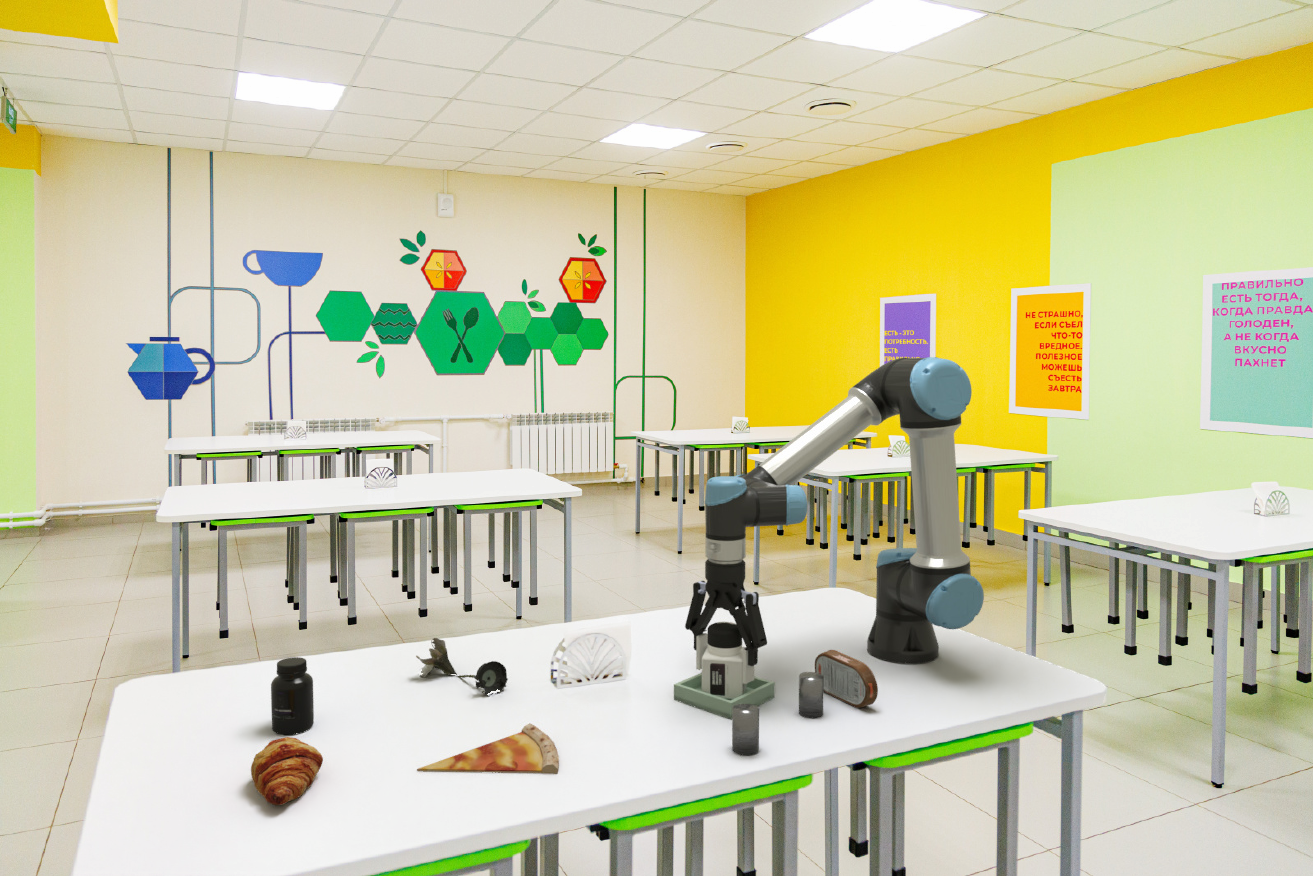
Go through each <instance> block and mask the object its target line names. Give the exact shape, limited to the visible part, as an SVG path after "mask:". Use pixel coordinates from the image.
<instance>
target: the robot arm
mask: <svg viewBox="0 0 1313 876" xmlns="http://www.w3.org/2000/svg"><path fill="white" fill-rule="evenodd" d="M971 399H972V384H971V381H970V377H969V376H968V374H967V372H966V371H965V369H964V368H963V367H961V366H960V365H959V364H958V363H956V362H955V361H953V360H950V359H947V358H940V357H936V356H935V357H934V356H933V357H932V356H929V357H899V358H895V359H892V360H890V361H888V362H886V363H884V364H883V365H882V364H881V366H879V367H877V368H876V369H874V370H873V371H872V372H870V373H869V374H867V376H865V377H864V378H862V379H861V380H860V381H859V382H857V383H856V384H855V385H853V386H852V387H851V388H849V390H848V391H847V397H846V398H844V399H843V400H842V401H841V402H838V404H837V405H835V406H834V407H833V408H831V409H830V410H829V411H828V412H826V413H824V415H822V416H821V417H819V418H818V419H817V420H815V422H812V424H810V425H809V426H808V427H807V428H805V429H804V430H803V431H801V432H800V433H798V434H797V435H796V436H795V437H793V438H792V439H791V440H790V441H789V442H787V443H785V444H784V445H783V446H782V447H781V448H779V449H778V450H776V451H775V452H773V454H771V455H770V456H769V457H768V458H766V459H765V460H764V461H762V462H761V463H760V464H759V465H757V466H756V467H755V468H753V469H751V470H750V471H749V472H748V473H746V474H745V473H743V474H738V475H734V476H733V475H732V476H727V475H721V476H714V477H711V478H709V479H708V480H707V481H706V485H705V486H706V487H705V497H704V506H705V508H704V509H705V511H704V513H705V516H704V518H705V520H704V521H705V549H704V550H705V553H704V555H705V557H706V558H707V559H706V560H705V562H704V564H705V565H704V570H705V571H704V575H705V576H704V577H705V580H706V581H705V580H700V581H697V582H694V583H693V584H692V590H693V591H692V593H693V594H692V598H691V601H690V605H689V606H690V607H689V609H688V612H687V613H688V614H687V617H686V620H685V625H684V628H685V629H686V630H689V631H690V632H692V634H693V649H694V651H696V653H695V655H696V657H695V659H696V661H695V662H696V663H695V664H696V666H695V667H696V670H698V671H700V670H702V657H703V655H704V652H705V650H706V648H707V646H708V627H709V624H710V622H711V621H712V618H713V617H714V615H715V613H716V611H717V609H723V610H724V611H728V613H729V614H730V616H732V617H733V619H734V621H735V622H734V623H735V624H737V627H738V629H739V631H740V633H741V636H742V641H743V642H744V645H745V646H744V647H745V648H743V666H742V683H744V684H747V683H749V682H751V681H753V680H754V676H755V666H756V665H758V661H759V660H758V658H759V656H758V653H759V652H758V651H759V650H758V649H759V648H762V647H765V646H766V645H768V639H767V636H766V632H765V631H766V630H765V627H764V622H763V618H762V613H761V610H760V607H759V600H760V599H759V598H760V597H759V593H758V592H757V591H754V592H750V591H747V590H746V589H745V586H744V583H745V580H746V562H745V560H744V559H746V555H747V554H746V552H747V551H746V550H747V549H746V548H747V547H746V545H747V544H746V540H747V539H746V536H747V535H746V532H747V531H746V530H747V528H753V527H770V526H774V527H775V526H786V527H788V526H790V525H797V524H800V523H802V522H803V521H805V519H806V517H807V513H808V504H809V503H808V498H807V494H806V493H805V490H804V489H803V487H801V486H800V485H798V484H796V483H797V482H799V481H800V480H801V479H802V478H804V477H805V476H806V475H808V474H809V473H810V472H811V471H813V470H814V469H815V468H816V467H818V466H819V465H821V464H822V463H823V462H824V461H826V460H828V459H829V458H830V457H831V456H832V455H833V454H835V453H836V452H837V451H838V450H840V449H841V448H843V447H844V446H846V445H847V444H848V443H849V442H850V441H852V440H853V439H854V438H856V437H857V436H858V435H859V434H861V433H863V431H865V430H866V429H867V428H868V427H870V426H879V425H880V424H882V423H883V422H884V421H885V420H888V419H889V418H892V417H894V416H898V415H899V426H900V429H901V430H902V431H903V432H904V433H905V434H907V436H908V440H909V454H910V455H909V456H910V469H911V471H910V472H911V483H912V487H911V488H912V500H913V501H912V502H913V513H914V514H913V515H914V529H915V539H916V540H915V544H916V547H904V548H903V547H899V548H887V549H883V550H881V551H879V553H878V555H877V560H876V565H875V566H876V567H875V568H876V589H875V591H876V593H875V594H876V596H875V597H876V600H875V601H876V602H875V603H876V604H875V608H876V609H875V618H874V620H873V623H872V625H871V626H872V627H871V629H870V632H869V634H868V637H867V641H866V642H867V643H866V650H867V653H869V654H870V655H871V656H872V657H875V658H876V659H879V660H882V661H887V662H891V663H898V664H908V665H909V664H913V665H917V664H925V663H930V662H933V661H936V660H937V659H938V658H939V653H940V652H939V648H940V647H939V642H938V639H937V636H936V632H935V629H934V626H935V627H936V626H937V627H940V628H945V629H947V630H958V629H961V628H962V629H963V628H964V627H966V626H968V625H969V624H971V623H972V622H973V621H974V619H975V618H976V617H977V616H978V615H979V614H980V612H981V610H982V609H983V605H984V600H985V596H984V595H985V594H984V588H983V586H982V584H981V583H980V581H979V580H978V579H977V578H976V577H975V576H973V575H972V574H971V571H972V570H971V560H970V559H971V558H970V556H968V555H967V553H965V552H964V551H963V550H962V541H961V539H962V538H961V526H960V507H959V493H958V477H957V463H956V445H955V432H956V431H957V430H958V429H959V428H960V426H962V414H963V413H965V411H967V406H969V405H970V402H971ZM794 484H795V485H794ZM706 595H708V598H707V600H706ZM705 600H706V601H705ZM704 603H705V604H704ZM703 606H704V608H703ZM933 625H934V626H933Z"/></svg>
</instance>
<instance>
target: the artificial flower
mask: <svg viewBox="0 0 1313 876" xmlns="http://www.w3.org/2000/svg"><path fill="white" fill-rule="evenodd" d="M430 642H431V646H432V648H429V649H428V651H429V655H430V658H420V656H419V655H415V658H416V659H418V660H419V661H420V662H421V663H422V664H424V666H423V667H421V669H422V671H421V673H423V674H422V675H421V676H420V677H423V678H425V677H427V676H428V674H429V673H430V672H431V671H432V670H433V669H436V670H437V669H438V670H440V671H442V672H443V674H446V675H448V674H458V673H457V672H456V670H455V669H454V667H453V665H452V663H451V661H450V659H449V655H448V649H447V645H446V641H445V640H443V639H440V638H437V637H434V638H432V640H431V641H430ZM459 677H462V678H464V679H466V678H472V679H473V678H474V679H475V686H476V689H479V688H480V691H482V689H483V691H482V694H484V696H487V697H489V696H488V695H487V694H488V693H490V692H491V691H496V690H497V689H498V690H500V692H502V691H503V690H504V689H505V688H506V687H507V684H508V683H507V682H508V680H509V678H508V674H507V669H506V666H505V665H504V664H503V663H500V661H499V662H498V661H496V660H492V661H488V662H486V663H485V662H484V663H483V664H482V665H480V666H479V667H478V669H477V671H476V674H469V675H468V674H464V675H459ZM459 677H458V678H459ZM462 678H461V679H462ZM481 688H482V689H481Z"/></svg>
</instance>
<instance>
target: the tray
mask: <svg viewBox="0 0 1313 876" xmlns="http://www.w3.org/2000/svg"><path fill="white" fill-rule="evenodd" d="M772 699H775V682H774V681H772V680H771V681H770V680H768V679H764V678H761V677H758V676H755V675H754V680H753V681H751V682H749V683H747V685H746V689H745V693H744V694H743V695H741V696H739V697H737V698H735V699H724V698H721V697H718V696H714V695H711V694H708V693H705V692H702V672H700V673H697V674H695V675H693V676H690V677H688V678H685V679H683V680H681V681H679V682H676V683H674V684H673V700H674V701H676V700H678V701H677V702H679V701H681V702H680V703H682V702H683V703H682V704H685V705H688V706H691V705H692V706H691V707H694V706H695V707H694V708H697V709H700V710H703V711H706V712H709V713H712V714H714V715H717V716H720V717H723V718H727V719H729V720H732V708H733V706H735V705H737V704H752V705H755V706H757V707H758V706H761V705H763V704H764V703H767V702H769V701H771V700H772Z"/></svg>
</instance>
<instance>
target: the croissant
mask: <svg viewBox="0 0 1313 876" xmlns="http://www.w3.org/2000/svg"><path fill="white" fill-rule="evenodd" d="M323 761H324V758H323V755H322V753H321V752H319V750H318V749H317V748H315V747H314V746H312V745H310V744H309V743H306V742H304V741H301V740H300V739H298V738H295V737H290V736H286V737H281V738H277V739H273V740H271V741H269V742H268V743H267V745H266V746H264V748H263V749H262V750H261V751H259V752H258V753H256V754H255V756H254V758H253V761H252V763H251V767H250V773H251V778H252V782H253V785H254V788H255V789H256V791H257V793H259V794H260V795H261V796H262V797H263V798H264V799H265V801H266V802H268V803H269V804H271V805H275V806H281V805H284V804H287V803H288V802H290V801H293V800H296V799H298V798H299V797H301V796H302V795H303V794H304V792H306V789H308V788H309V787H310V786H311V785H312V784H313V782H314V779H315V778H316V775H318V773H319V771H320V769H321V767H322V765H323Z"/></svg>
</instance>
